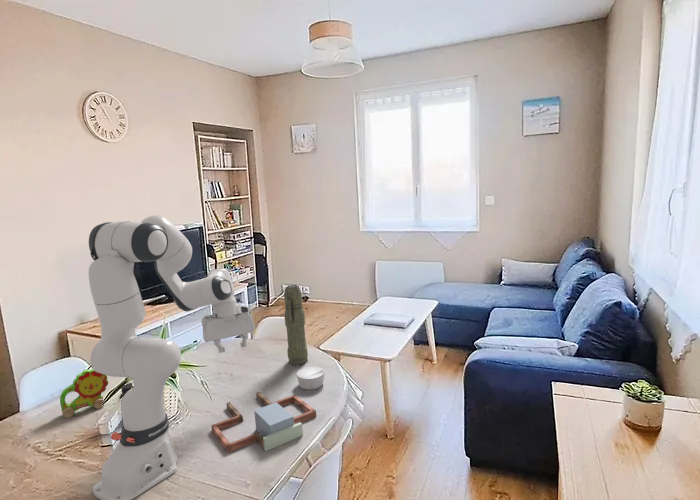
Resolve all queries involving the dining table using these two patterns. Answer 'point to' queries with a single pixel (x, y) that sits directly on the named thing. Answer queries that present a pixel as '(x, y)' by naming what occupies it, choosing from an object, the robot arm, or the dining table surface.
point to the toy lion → (84, 392)
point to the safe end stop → (282, 436)
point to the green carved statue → (295, 326)
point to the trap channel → (256, 436)
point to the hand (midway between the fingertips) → (233, 349)
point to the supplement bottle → (125, 389)
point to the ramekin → (310, 377)
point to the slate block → (272, 419)
